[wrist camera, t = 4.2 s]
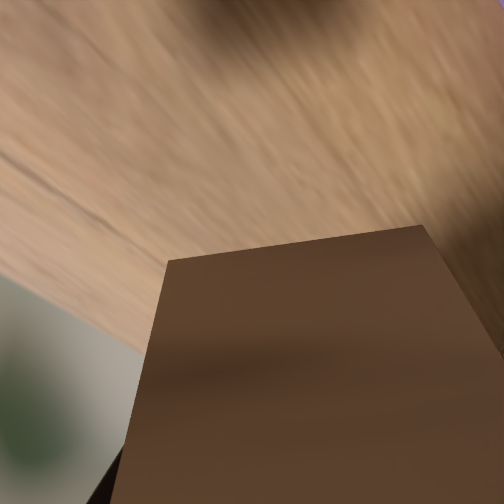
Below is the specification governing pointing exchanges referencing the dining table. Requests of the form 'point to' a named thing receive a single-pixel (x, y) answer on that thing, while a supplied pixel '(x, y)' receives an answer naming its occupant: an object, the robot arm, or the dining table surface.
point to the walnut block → (317, 381)
